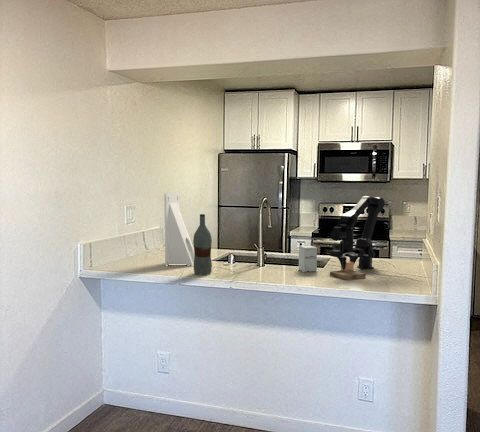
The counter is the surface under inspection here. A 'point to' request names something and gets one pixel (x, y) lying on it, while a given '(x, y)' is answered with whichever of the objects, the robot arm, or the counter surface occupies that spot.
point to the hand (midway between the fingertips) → (347, 269)
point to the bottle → (202, 248)
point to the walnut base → (347, 274)
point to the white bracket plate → (176, 233)
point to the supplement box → (308, 258)
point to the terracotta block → (349, 266)
